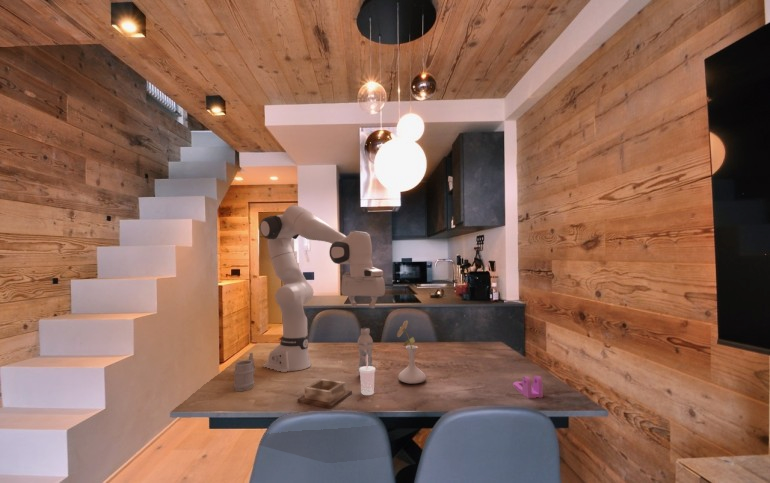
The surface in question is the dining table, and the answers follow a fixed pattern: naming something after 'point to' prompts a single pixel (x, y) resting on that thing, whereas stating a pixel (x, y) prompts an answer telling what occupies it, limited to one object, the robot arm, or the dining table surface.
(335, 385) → the socket stand
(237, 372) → the mug
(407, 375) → the flower in vase
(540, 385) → the bracket
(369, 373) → the beverage cup
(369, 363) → the plastic bottle
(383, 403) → the dining table surface
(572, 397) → the dining table surface
